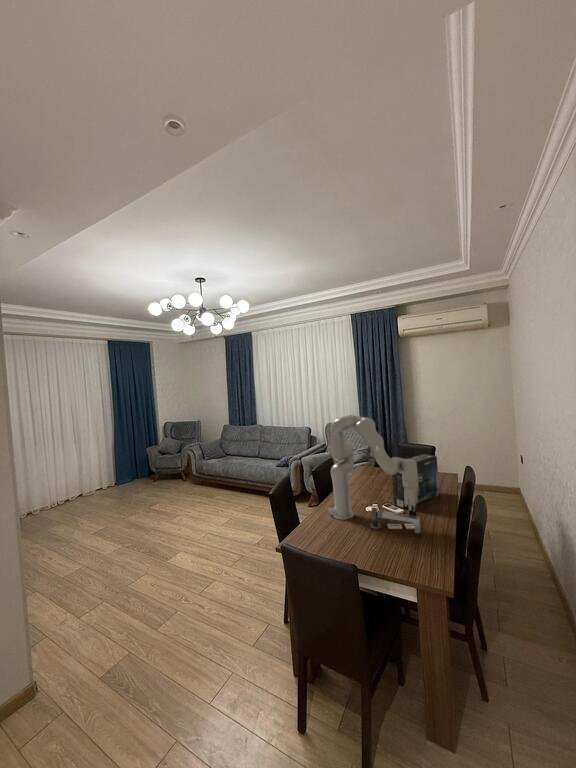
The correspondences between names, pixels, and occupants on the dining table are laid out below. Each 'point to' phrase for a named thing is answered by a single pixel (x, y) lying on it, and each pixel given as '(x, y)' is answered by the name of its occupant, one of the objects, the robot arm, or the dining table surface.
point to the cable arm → (401, 518)
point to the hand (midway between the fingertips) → (413, 518)
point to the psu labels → (398, 526)
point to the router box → (426, 481)
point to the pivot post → (375, 519)
